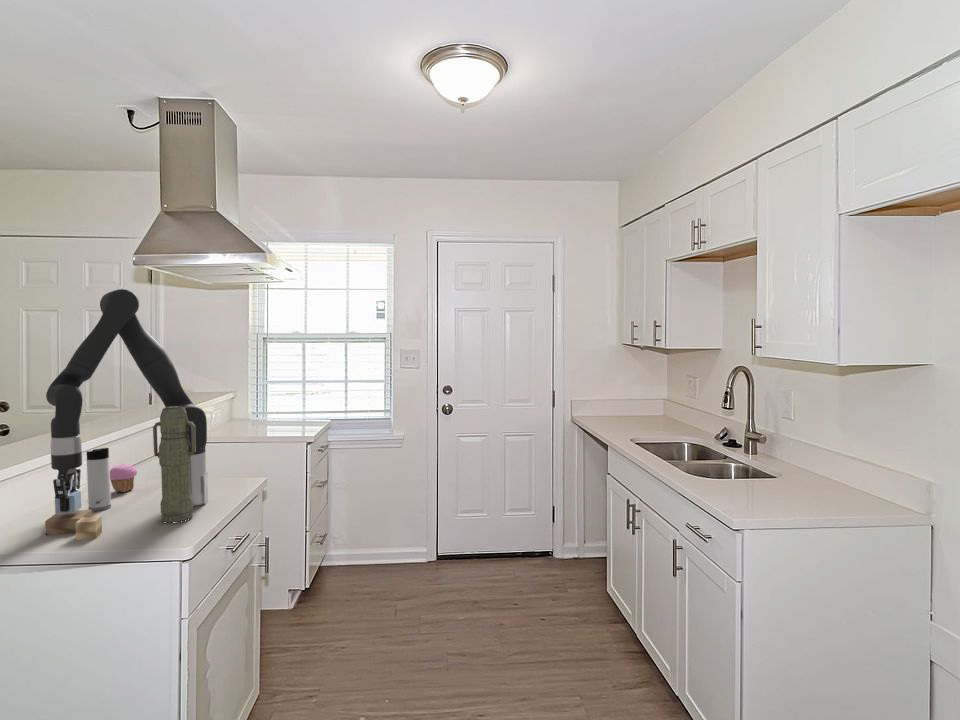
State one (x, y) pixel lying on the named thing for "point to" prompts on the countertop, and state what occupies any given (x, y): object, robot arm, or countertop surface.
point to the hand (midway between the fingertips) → (68, 508)
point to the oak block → (88, 527)
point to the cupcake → (123, 477)
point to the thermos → (175, 463)
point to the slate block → (70, 502)
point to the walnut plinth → (65, 522)
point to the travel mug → (98, 479)
